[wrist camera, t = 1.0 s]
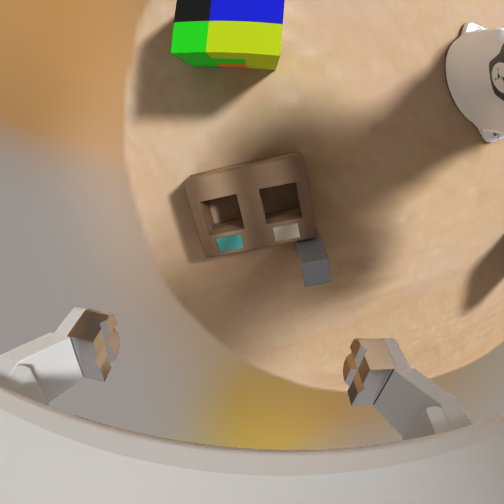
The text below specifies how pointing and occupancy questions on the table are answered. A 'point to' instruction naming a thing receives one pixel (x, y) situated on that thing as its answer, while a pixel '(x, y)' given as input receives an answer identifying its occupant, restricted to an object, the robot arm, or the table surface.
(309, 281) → the plug
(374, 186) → the table surface
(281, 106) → the table surface
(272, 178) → the socket block
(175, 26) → the puzzle toy
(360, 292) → the table surface
